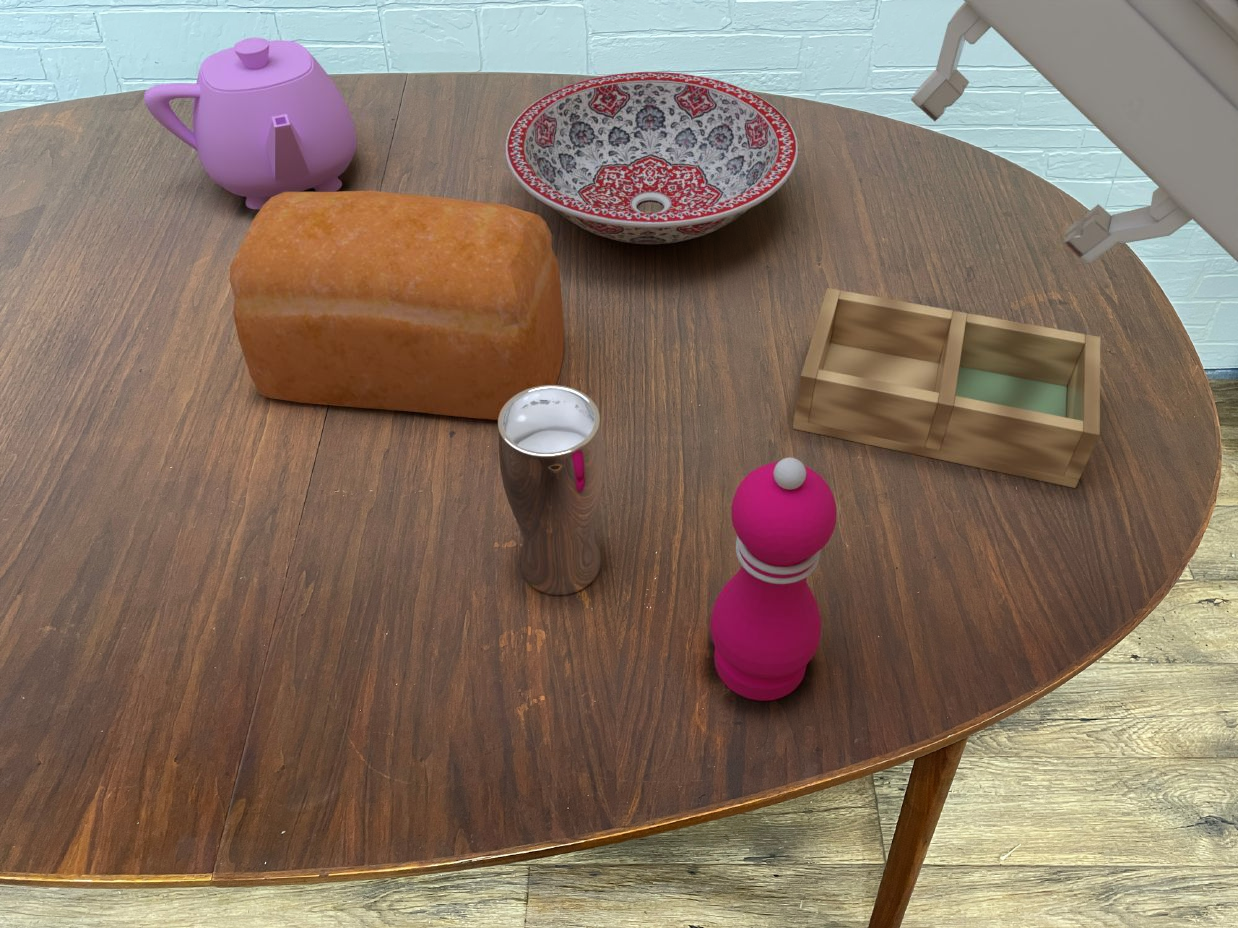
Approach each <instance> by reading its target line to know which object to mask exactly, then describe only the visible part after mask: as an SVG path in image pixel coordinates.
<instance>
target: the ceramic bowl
mask: <svg viewBox="0 0 1238 928" xmlns="http://www.w3.org/2000/svg"><path fill="white" fill-rule="evenodd" d="M504 150H505V151H504V152H505V158H506V163H507V166H508V168H509V171H510V173H511V175H512V176H513V177H514V180H515V181H516V182H517V183H518V184H519V185H520V187H522V188H523V189H524V190H525V191H526V192H527V193H528V194H529V195H531V196H533V198H535V199H537V200H538V201H539V202H542V203H543V204H545V205H546V206H549V208H552V209H553V210H554V211H555V212H556V213H558V214H559V215H560V216H562V217H563V218H564V219H566V220H568V222H570V223H572V224H574V225H575V226H577V227H579V228H581V229H583V230H585V231H587V232H589V233H592V234H594V235H597V236H599V237H602V238H605V239H608V240H613V241H617V242H622V243H628V244H637V245H664V244H665V245H666V244H674V243H679V242H685V241H689V240H693V239H697V238H700V237H703V236H707V235H708V234H711V233H713V232H715V231H718V230H720V229H722V228H723V227H726V226H727V225H729V224H730V223H732V222H734V221H735V220H737V219H738V218H739V217H741V216H742V215H743V214H745V213H746V212H748V210H749V209H752V208H753V207H755V206H757V205H759V204H761V203H762V202H764V201H766V200H767V199H769V198H770V197H771V196H773V195H774V194H775V193H776V192H777V191H779V189H781V187H782V186H784V184H785V183H786V182H787V180H788V179H789V178H790V177H791V175H792V173H793V171H794V170H795V166H796V164H797V161H798V157H799V144H798V138H797V135H796V133H795V130H794V128H793V127H792V125H791V122H790V121H789V120H788V119H787V118H786V116H784V114H783V113H782V112H781V111H780V110H779V109H778V108H777V107H775V106H774V105H772V104H771V103H770V102H768V100H765V99H764V98H762V97H761V96H759V95H757V94H755V93H753V92H751V91H749V90H747V89H744V88H742V87H740V86H737V85H734V84H731V83H729V82H726V81H722V80H719V79H715V78H710V77H706V76H702V75H701V76H700V75H695V74H689V73H688V74H687V73H679V72H665V71H636V72H624V73H615V74H608V75H602V76H597V77H593V78H588V79H585V80H581V81H577V82H574V83H571V84H568V85H566V86H563V87H560V88H558V89H556V90H554V91H552V92H550V93H548V94H546V95H544V96H543V97H541V98H539V99H538V100H536V101H534V102H533V103H532V104H530V105H529V106H528V107H526V108H525V109H524V110H523V111H522V112H521V113H520V114H519V116H517V117H516V119H515V121H514V122H513V123H512V125H511V127H510V128H509V130H508V133H507V136H506V140H505V146H504ZM647 201H653V202H654V201H655V202H658V203H661V204H662V205H663V209H662V210H660V211H657V212H643V211H641V210H639V209H638V208H637V207H638V205H639V204H640V203H643V202H647Z"/></svg>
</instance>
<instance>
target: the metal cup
mask: <svg viewBox="0 0 1238 928" xmlns="http://www.w3.org/2000/svg"><path fill="white" fill-rule="evenodd" d="M600 416H601V415H600V411H599V408H598V406H597V404H596V403H595V402H594V400H592V399H591V398H590V397H589V395H587V394H586V393H584V392H582V391H580V390H579V389H575V388H573V387H571V386H566V385H559V384H556V385H543V386H537V387H533V388H529V389H527V390H524V391H522V392H520V393H518V394H516V395H515V396H513V397H512V398H511V399H510V400H509V401H508V402H507V403H506V404H505V405H504V406H503V408H502V409H501V411H500V414H499V417H498V420H497V428H498V458H499V469H500V474H501V475H500V476H501V481H502V486H503V489H504V493H505V495H506V498H507V501H508V505H509V506H510V509H511V512H512V514H513V517H514V519H515V521H516V522H515V523H516V524H517V527H518V529H519V532H520V536H521V541H522V543H521V544H522V545H521V550H520V556H519V570H520V573H521V575H522V577H523V579H524V580H525V582H526V583H527V584H528V585H529V586H530V587H531V588H532V589H535V590H536V591H538V592H541V593H543V594H547V595H551V596H552V595H553V596H567V595H571V594H575V593H577V592H579V591H582V590H584V589H585V588H587V587H588V586H590V584H592V583H593V581H594V580H595V579H596V578H597V576H598V575H599V573H600V570H601V567H602V554H601V550H600V546H599V543H598V541H597V537H596V531H595V530H596V522H597V517H598V513H599V508H600V504H601V500H602V495H603V490H604V482H605V449H604V442H603V434H602V427H601V417H600Z"/></svg>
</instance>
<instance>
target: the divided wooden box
mask: <svg viewBox="0 0 1238 928" xmlns="http://www.w3.org/2000/svg"><path fill="white" fill-rule="evenodd" d="M796 397H797V398H796V403H795V411H794V416H793V424H792V429H793V430H798V431H802V432H806V433H811V434H816V435H821V436H826V437H830V438H834V439H838V440H839V439H840V440H845V441H850V442H855V443H859V444H863V445H867V446H874V447H877V448H883V449H887V450H893V451H897V452H902V453H907V454H911V455H916V456H921V457H926V458H931V459H934V460H940V461H945V462H948V463H949V462H950V463H955V464H959V465H963V466H968V467H973V468H979V469H982V470H987V471H991V472H992V471H993V472H997V473H1002V474H1005V475H1006V474H1007V475H1011V476H1016V477H1021V478H1026V479H1031V480H1036V481H1040V482H1044V483H1048V484H1049V483H1050V484H1055V485H1059V486H1062V487H1063V486H1064V487H1069V488H1072V489H1076V487H1077V486H1078V483H1079V482H1080V479H1081V477H1082V474H1083V472H1084V470H1085V468H1086V466H1087V464H1088V461H1089V459H1090V457H1091V456H1092V453H1093V450H1094V448H1095V446H1096V444H1097V442H1098V440H1099V438H1100V435H1101V336H1097V335H1092V334H1085V333H1080V332H1075V331H1068V330H1063V329H1058V328H1052V327H1046V326H1042V325H1041V326H1040V325H1035V324H1030V323H1024V322H1019V321H1013V320H1008V319H1003V318H997V317H991V316H987V315H986V316H985V315H979V314H976V313H975V314H974V313H969V312H964V311H957V310H952V309H946V308H942V307H937V306H936V307H935V306H930V305H924V304H919V303H913V302H908V301H903V300H896V299H891V298H885V297H880V296H874V295H868V294H863V293H857V292H853V291H847V290H841V289H836V288H830V287H827V288H826V290H825V293H824V297H823V300H822V303H821V306H820V310H819V313H818V318H817V320H816V323H815V327H814V330H813V334H812V337H811V340H810V343H809V346H808V350H807V354H806V356H805V360H804V364H803V367H802V369H801V373H800V379H799V385H798V391H797V396H796Z"/></svg>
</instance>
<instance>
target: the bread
mask: <svg viewBox="0 0 1238 928" xmlns="http://www.w3.org/2000/svg"><path fill="white" fill-rule="evenodd" d="M552 244H553V235H552V232H551V230H550V228H549V226H548V224H547V222H546V220H544V218H542V216H541V215H539V214H537V213H533V212H529V211H527V210H523V209H520V208H517V207H514V206H510V205H507V204H501V203H492V202H484V201H475V200H466V199H459V198H449V197H441V196H440V197H439V196H432V195H421V194H408V193H397V192H388V191H379V190H348V191H347V190H344V191H335V192H317V191H300V192H283V193H280V194H278V195H276V196H274V197H271V198H270V199H269V200H268V201H267V202H266V203H265V204H264V205H263V206H262V208H261V209H259V211H258V212H257V214H255V216H254V218H253V220H252V221H251V224H250V225H249V228H248V230H247V232H246V234H245V236H244V238H243V240H242V242H241V244H240V246H239V248H238V250H237V251H236V254H235V256H234V258H233V260H232V261H231V264H230V266H229V267H230V269H229V283H230V287H231V291H232V294H233V297H234V298H233V311H232V314H233V319H234V325H235V329H236V335H237V338H238V342H239V346H240V349H241V351H242V354H243V358H244V361H245V363H246V366H247V370H248V372H249V376H250V378H251V380H252V382H253V383H254V385H255V388H256V389H257V391H258V393H259V395H261V396H264V397H266V398H267V399H268V398H269V399H276V400H282V401H289V402H297V403H303V404H311V405H312V404H313V405H325V406H338V407H347V408H348V407H349V408H359V409H371V410H372V409H373V410H374V409H375V410H388V411H398V412H399V411H400V412H414V413H424V414H432V415H439V416H440V415H441V416H448V417H449V416H450V417H456V418H468V419H479V420H490V421H491V420H492V421H498V417H499V414H500V411H501V409H502V408H503V406H504V405H505V404H506V403H507V402H508V401H509V400H510V399H511V398H512V397H513V396H515V395H516V394H518V393H520V392H522V391H524V390H527V389H529V388H533V387H537V386H543V385H557V383H558V379H559V377H560V373H561V368H562V365H563V361H564V348H565V347H564V346H565V324H564V323H565V322H564V310H563V296H562V285H561V275H560V267H559V260H558V257H557V255H556V254H555V252H554V250H553V249H552V246H553V245H552Z"/></svg>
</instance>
